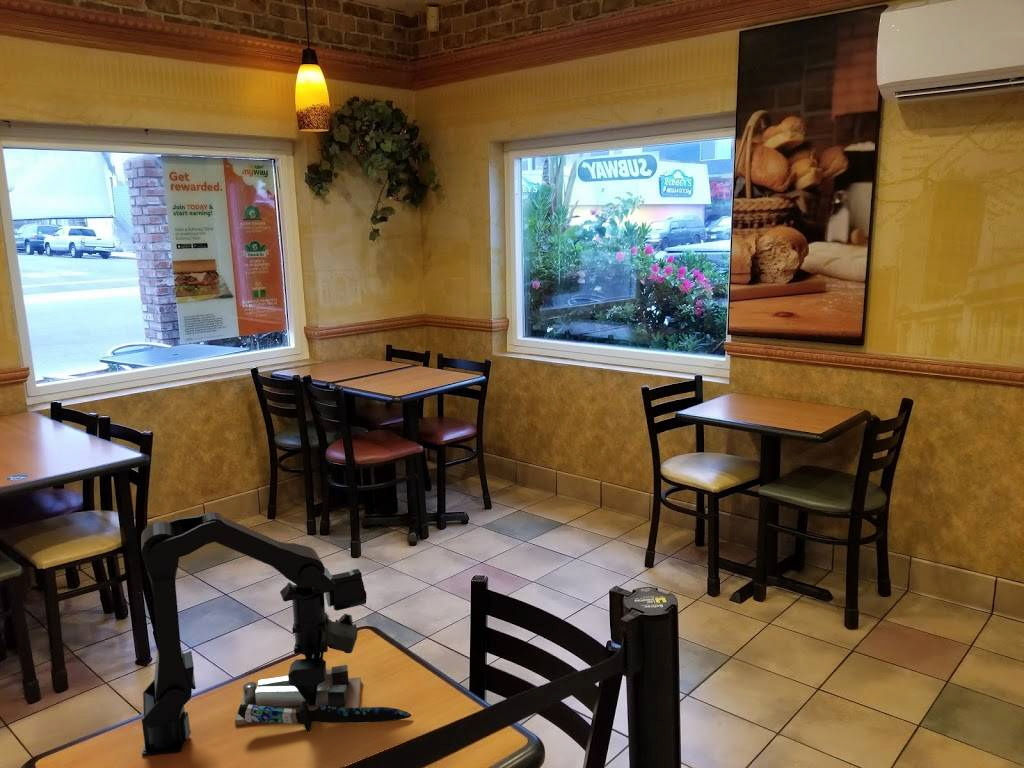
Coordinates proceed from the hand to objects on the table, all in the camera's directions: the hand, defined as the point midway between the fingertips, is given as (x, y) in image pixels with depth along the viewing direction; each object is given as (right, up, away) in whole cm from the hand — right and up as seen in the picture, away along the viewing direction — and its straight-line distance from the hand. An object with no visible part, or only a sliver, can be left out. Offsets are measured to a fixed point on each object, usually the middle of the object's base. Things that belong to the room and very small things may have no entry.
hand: (315, 690), depth 146 cm
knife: (+4, -4, -7) cm, 9 cm away
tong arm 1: (-2, -1, -2) cm, 3 cm away
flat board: (-3, -2, 0) cm, 4 cm away
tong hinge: (-12, -1, -1) cm, 12 cm away
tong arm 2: (-3, 0, +2) cm, 3 cm away
